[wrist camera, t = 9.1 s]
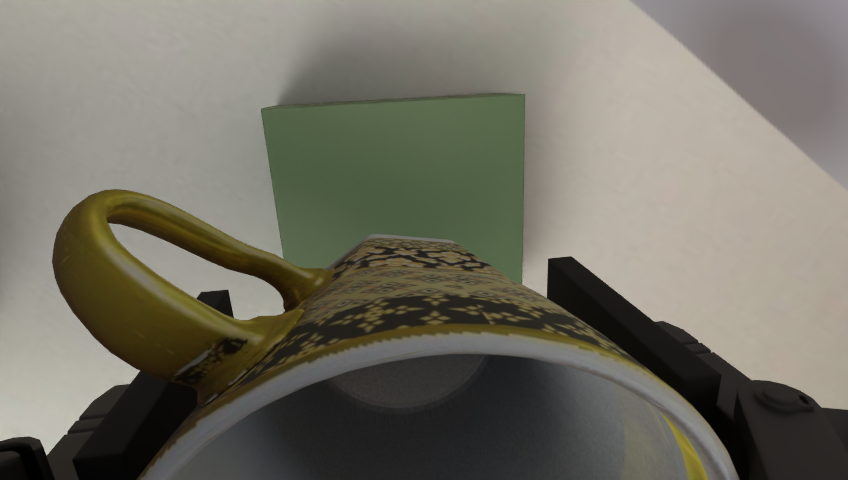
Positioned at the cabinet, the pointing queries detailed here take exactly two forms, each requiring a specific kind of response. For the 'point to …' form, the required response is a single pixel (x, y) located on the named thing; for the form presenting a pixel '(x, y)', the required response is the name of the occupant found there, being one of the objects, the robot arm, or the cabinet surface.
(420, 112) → the green block
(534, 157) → the cabinet surface
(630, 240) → the cabinet surface
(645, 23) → the cabinet surface
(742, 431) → the robot arm
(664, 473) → the ceramic cup
